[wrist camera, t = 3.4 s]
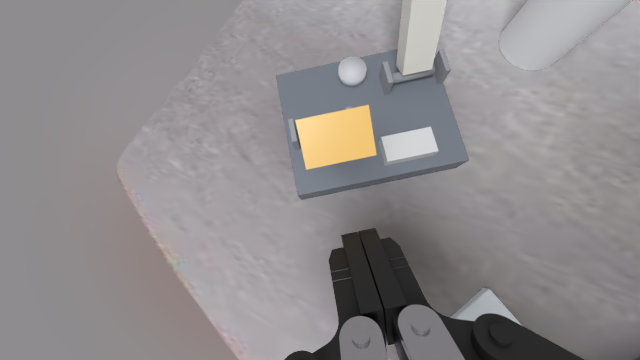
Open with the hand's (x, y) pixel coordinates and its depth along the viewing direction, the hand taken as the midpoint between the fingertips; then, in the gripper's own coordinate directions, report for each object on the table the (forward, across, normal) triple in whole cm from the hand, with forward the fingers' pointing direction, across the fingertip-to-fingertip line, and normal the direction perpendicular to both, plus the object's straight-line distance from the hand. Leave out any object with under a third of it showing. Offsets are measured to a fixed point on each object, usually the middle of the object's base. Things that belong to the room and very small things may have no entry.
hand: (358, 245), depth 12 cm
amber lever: (+17, 0, +1) cm, 17 cm away
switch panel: (+21, -5, +3) cm, 22 cm away
